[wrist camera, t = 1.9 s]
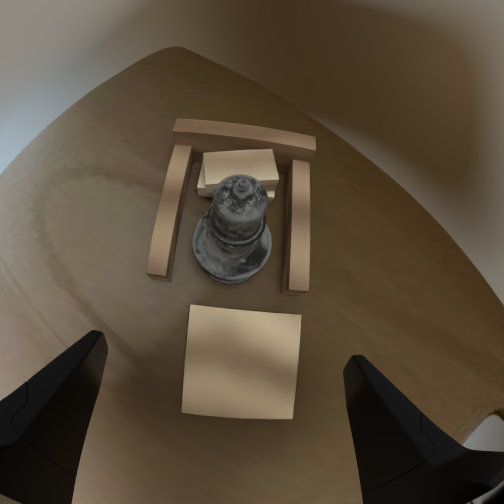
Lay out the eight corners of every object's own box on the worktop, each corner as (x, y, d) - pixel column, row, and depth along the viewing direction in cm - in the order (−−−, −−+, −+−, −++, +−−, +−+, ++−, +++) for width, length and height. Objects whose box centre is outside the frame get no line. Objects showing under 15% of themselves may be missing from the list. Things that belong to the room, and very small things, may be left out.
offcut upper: (274, 190, 24) (278, 179, 22) (206, 196, 23) (205, 184, 21) (268, 161, 25) (272, 149, 23) (203, 165, 24) (203, 152, 22)
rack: (299, 295, 23) (317, 286, 19) (152, 278, 22) (139, 266, 18) (301, 163, 27) (315, 137, 23) (180, 147, 26) (177, 118, 22)
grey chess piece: (200, 218, 24) (192, 126, 13) (265, 225, 25) (305, 141, 13) (191, 283, 22) (168, 234, 11) (261, 290, 23) (307, 248, 12)
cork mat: (289, 416, 20) (292, 418, 19) (182, 409, 19) (181, 412, 19) (298, 315, 23) (301, 314, 22) (191, 305, 22) (190, 304, 21)
